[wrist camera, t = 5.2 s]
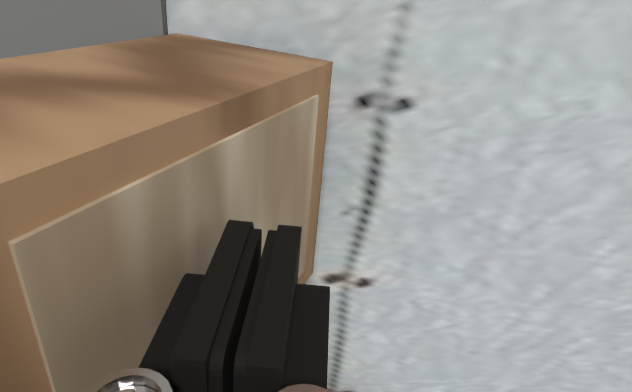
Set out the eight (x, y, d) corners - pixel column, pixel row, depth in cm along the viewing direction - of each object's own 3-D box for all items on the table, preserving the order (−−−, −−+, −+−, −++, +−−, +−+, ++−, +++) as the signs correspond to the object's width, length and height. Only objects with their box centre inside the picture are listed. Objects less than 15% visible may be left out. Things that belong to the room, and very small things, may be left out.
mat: (160, -67, 14) (155, -68, 14) (186, 281, 21) (183, 286, 20) (-225, -102, 14) (-240, -103, 14) (-77, 255, 21) (-85, 260, 20)
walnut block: (335, 62, 13) (-105, 226, 5) (314, 273, 17) (53, 589, 8) (176, 33, 16) (-331, 106, 7) (189, 226, 19) (-125, 437, 10)
